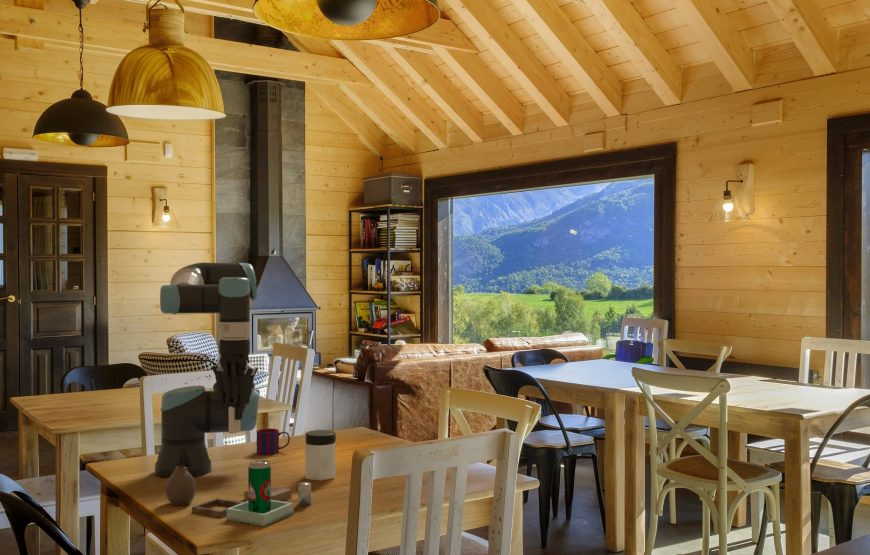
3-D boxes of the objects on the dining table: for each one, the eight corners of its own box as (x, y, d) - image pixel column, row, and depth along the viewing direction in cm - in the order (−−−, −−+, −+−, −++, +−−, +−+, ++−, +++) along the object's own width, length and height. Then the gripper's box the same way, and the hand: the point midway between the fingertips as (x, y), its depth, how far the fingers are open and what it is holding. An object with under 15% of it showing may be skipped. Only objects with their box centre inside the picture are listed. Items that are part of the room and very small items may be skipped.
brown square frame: (192, 512, 197) (192, 507, 197) (217, 502, 205) (217, 497, 205) (221, 517, 193) (221, 512, 193) (246, 507, 201) (246, 502, 201)
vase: (167, 508, 200) (167, 471, 200) (164, 501, 207) (164, 465, 206) (197, 505, 203) (197, 469, 203) (193, 498, 209) (193, 462, 209)
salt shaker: (295, 505, 204) (295, 484, 203) (303, 502, 206) (303, 481, 206) (306, 506, 202) (306, 485, 202) (313, 503, 205) (313, 483, 205)
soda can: (246, 512, 195) (246, 460, 195) (268, 510, 197) (268, 458, 197) (250, 518, 190) (250, 465, 190) (273, 516, 192) (273, 463, 192)
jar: (312, 482, 225) (312, 437, 225) (299, 475, 232) (299, 432, 232) (342, 477, 230) (342, 433, 230) (328, 471, 237) (328, 428, 237)
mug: (258, 450, 264) (258, 428, 264) (291, 450, 264) (291, 428, 264) (254, 455, 257) (254, 432, 257) (287, 455, 257) (287, 432, 257)
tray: (226, 519, 192) (226, 508, 192) (256, 508, 201) (256, 497, 201) (264, 526, 187) (264, 515, 187) (293, 514, 196) (293, 503, 196)
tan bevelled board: (244, 501, 208) (244, 491, 208) (263, 494, 214) (263, 484, 214) (272, 506, 204) (272, 496, 204) (291, 499, 210) (291, 489, 210)
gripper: (204, 338, 213) (204, 432, 213) (245, 340, 207) (245, 437, 207) (224, 336, 220) (224, 427, 220) (264, 338, 214) (264, 432, 214)
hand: (234, 432), depth 214 cm, fingers closed
